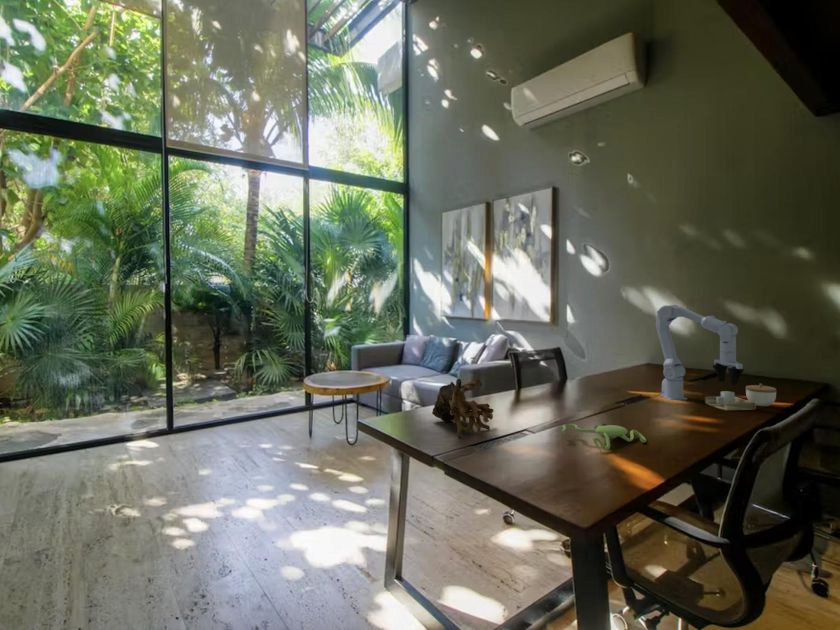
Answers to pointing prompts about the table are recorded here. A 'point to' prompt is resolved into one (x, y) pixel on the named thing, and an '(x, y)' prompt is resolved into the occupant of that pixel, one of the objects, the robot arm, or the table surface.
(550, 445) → the table surface
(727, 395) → the jug
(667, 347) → the robot arm
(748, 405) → the beige shallow tray
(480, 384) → the decorative coral sculpture
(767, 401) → the lidded jar
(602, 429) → the figurine
